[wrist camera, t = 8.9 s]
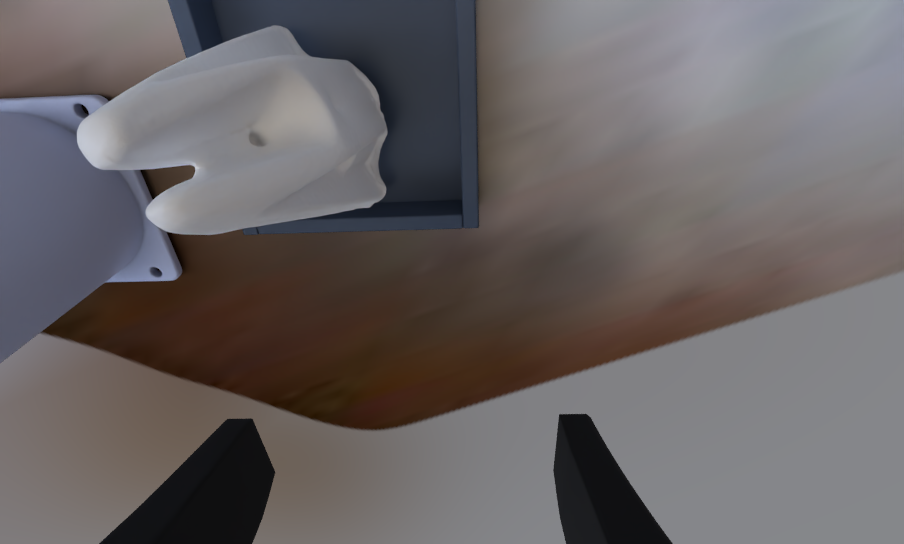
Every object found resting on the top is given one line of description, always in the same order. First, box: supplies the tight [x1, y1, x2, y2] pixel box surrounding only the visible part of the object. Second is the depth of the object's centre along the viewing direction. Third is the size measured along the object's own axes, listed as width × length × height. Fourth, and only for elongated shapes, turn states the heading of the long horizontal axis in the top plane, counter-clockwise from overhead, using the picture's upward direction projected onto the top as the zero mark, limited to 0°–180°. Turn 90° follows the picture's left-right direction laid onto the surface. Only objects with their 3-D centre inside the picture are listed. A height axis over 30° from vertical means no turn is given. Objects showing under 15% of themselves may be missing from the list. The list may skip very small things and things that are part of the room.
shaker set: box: [77, 25, 388, 235], centre depth 10 cm, size 12×4×11 cm, turn 175°
